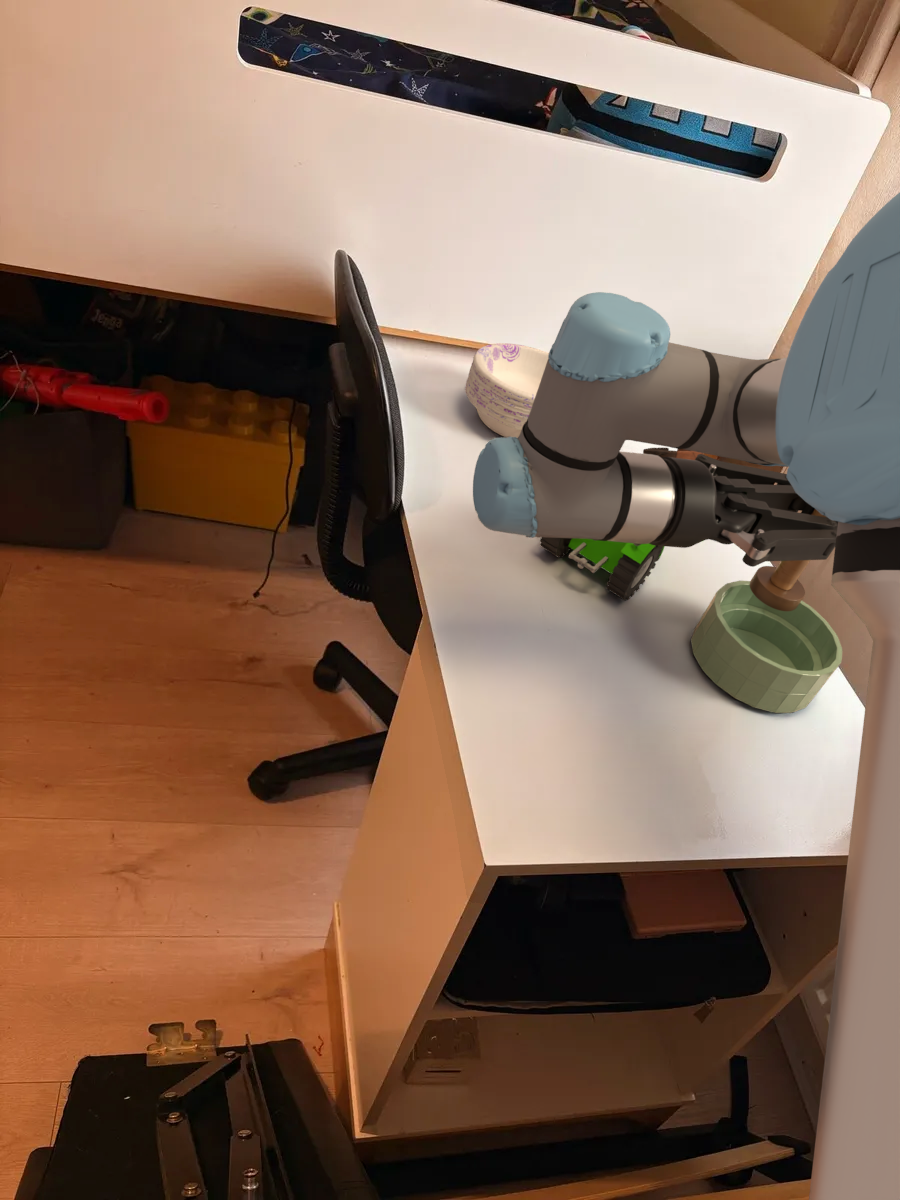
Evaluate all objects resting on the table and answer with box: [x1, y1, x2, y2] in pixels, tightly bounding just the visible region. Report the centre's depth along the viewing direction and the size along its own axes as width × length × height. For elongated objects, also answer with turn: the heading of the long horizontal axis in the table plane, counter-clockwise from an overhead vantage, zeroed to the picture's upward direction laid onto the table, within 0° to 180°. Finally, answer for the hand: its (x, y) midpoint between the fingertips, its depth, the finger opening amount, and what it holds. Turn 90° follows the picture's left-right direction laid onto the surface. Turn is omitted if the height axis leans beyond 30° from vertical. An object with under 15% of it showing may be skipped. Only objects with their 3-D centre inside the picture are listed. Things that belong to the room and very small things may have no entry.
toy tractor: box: [539, 537, 666, 601], centre depth 96 cm, size 11×16×10 cm
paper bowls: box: [464, 342, 549, 438], centre depth 115 cm, size 15×15×8 cm
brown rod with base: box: [749, 509, 826, 611], centre depth 82 cm, size 5×5×18 cm
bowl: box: [690, 580, 844, 714], centre depth 90 cm, size 13×13×6 cm
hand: (872, 521), depth 84 cm, fingers closed on brown rod with base, 2 cm apart
